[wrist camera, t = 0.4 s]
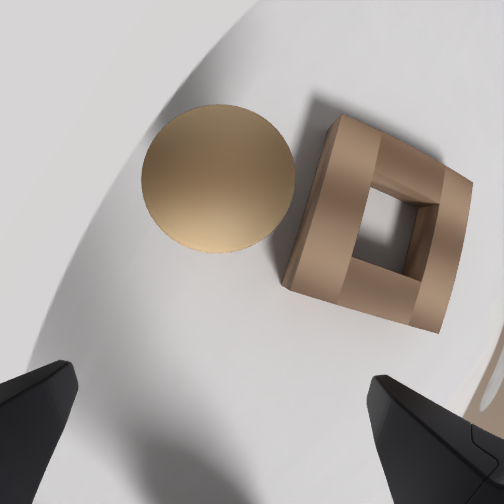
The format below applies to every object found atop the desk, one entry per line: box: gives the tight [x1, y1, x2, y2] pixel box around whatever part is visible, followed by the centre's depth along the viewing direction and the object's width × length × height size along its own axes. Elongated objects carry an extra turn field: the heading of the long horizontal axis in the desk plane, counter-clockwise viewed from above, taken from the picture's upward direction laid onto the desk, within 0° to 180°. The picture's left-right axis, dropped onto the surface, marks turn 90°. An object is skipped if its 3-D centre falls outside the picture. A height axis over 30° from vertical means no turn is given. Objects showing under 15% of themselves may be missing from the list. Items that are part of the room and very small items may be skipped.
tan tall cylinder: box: [141, 104, 296, 253], centre depth 15 cm, size 4×4×13 cm
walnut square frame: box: [282, 114, 473, 334], centre depth 21 cm, size 12×12×3 cm
